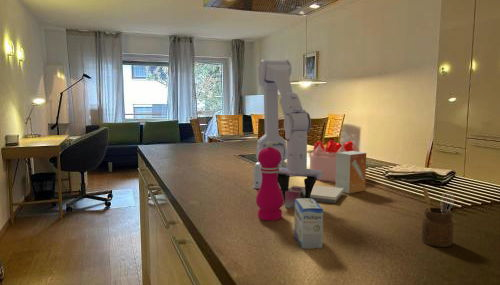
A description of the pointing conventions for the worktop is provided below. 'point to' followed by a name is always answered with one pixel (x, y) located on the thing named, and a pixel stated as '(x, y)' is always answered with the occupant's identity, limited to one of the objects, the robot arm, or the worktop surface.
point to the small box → (351, 171)
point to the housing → (293, 195)
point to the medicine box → (308, 223)
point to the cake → (328, 158)
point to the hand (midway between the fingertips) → (296, 200)
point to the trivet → (326, 194)
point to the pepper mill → (269, 185)
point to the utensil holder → (437, 224)
